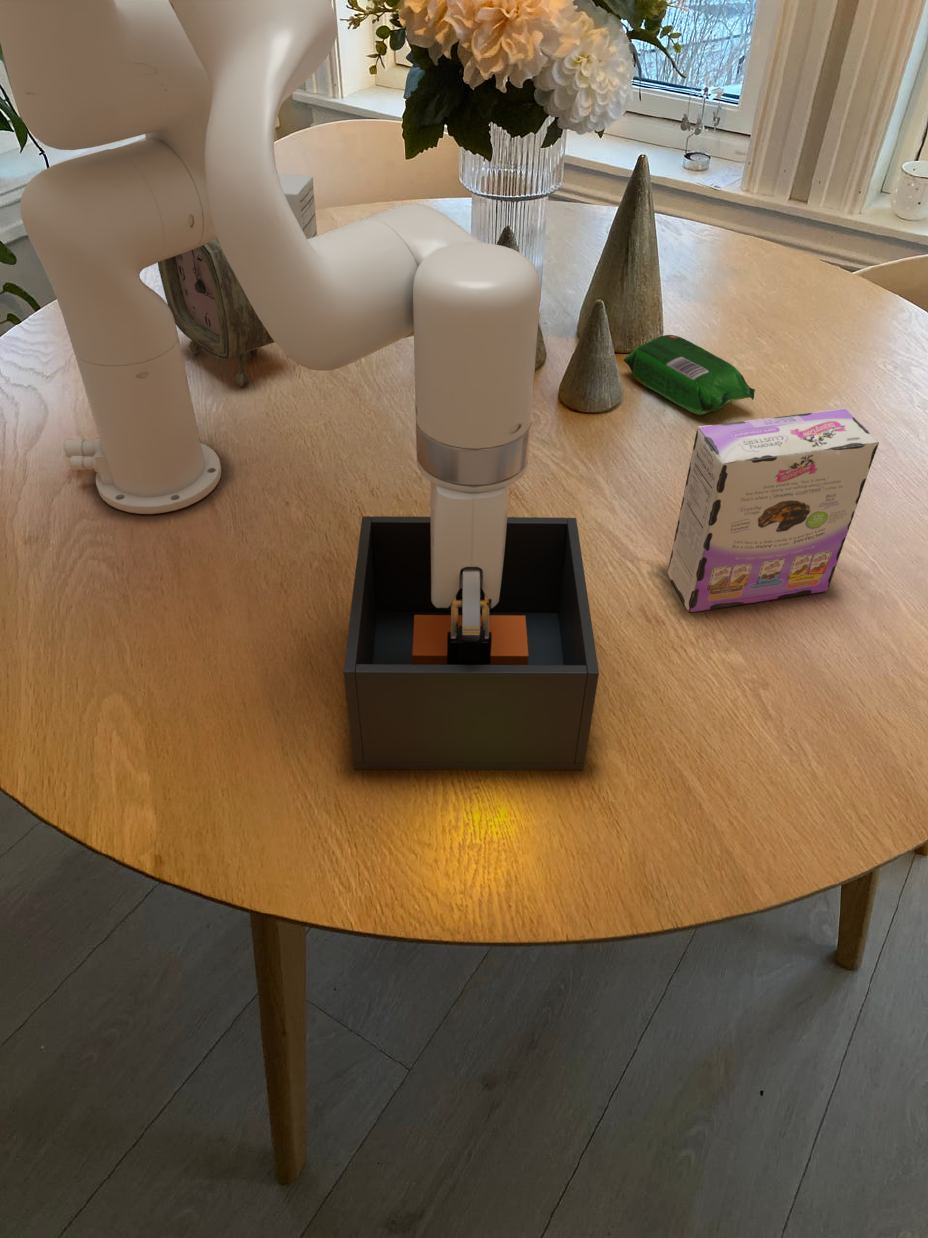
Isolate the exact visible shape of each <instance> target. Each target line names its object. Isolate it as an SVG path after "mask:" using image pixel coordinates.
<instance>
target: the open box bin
mask: <svg viewBox="0 0 928 1238" xmlns="http://www.w3.org/2000/svg"><path fill="white" fill-rule="evenodd" d="M581 548H582V547H581V541H580V535H579V527H578V519H577V518H576V517H550V516H549V517H543V516H542V517H538V516H536V517H534V516H533V517H531V516H530V517H529V516H528V517H527V516H526V517H525V516H524V517H523V516H507V527H506V540H505V551H504V561H503V571H502V580H501V588H500V596H499V602H498V603H497V605H496V606H494V607H493V608H491V607H490V606H489V615H513V616H526V628H527V642H528V655H529V657H528V665H413V662H412V651H413V630H414V615H451V605H450V606H449V607H448V608H436V607H435V606H434V605H433V603H432V602H431V520H430V516H395V515H394V516H389V515H388V516H386V515H382V516H379V515H378V516H377V515H372V516H371V515H367V516H366V515H362V517H361V522H360V530H359V539H358V548H357V554H356V564H355V570H354V571H355V572H354V581H353V589H352V598H351V606H350V614H349V623H348V630H347V639H346V646H345V647H346V648H345V656H344V663H343V664H344V665H343V672H342V673H343V681H344V690H345V699H346V708H347V709H346V710H347V717H348V726H349V727H348V729H349V735H350V744H351V745H350V746H351V754H352V763H353V769H354V770H464V771H465V770H467V771H469V770H472V771H473V770H475V771H476V770H477V771H478V770H480V771H482V770H483V771H484V770H486V771H489V770H491V771H495V770H497V771H499V770H500V771H501V770H502V771H503V770H505V771H508V770H509V771H510V770H511V771H512V770H513V771H518V770H519V771H522V770H523V771H551V770H552V771H584V770H585V766H586V758H587V752H588V745H589V740H590V733H591V727H592V720H593V714H594V709H595V708H594V707H595V701H596V696H597V688H598V683H599V675H600V670H599V664H598V663H599V662H598V656H597V650H596V642H595V636H594V630H593V623H592V616H591V615H592V614H591V610H590V609H591V608H590V603H589V594H588V589H587V582H586V576H585V575H586V574H585V568H584V561H583V556H582V549H581ZM456 598H462V593H457V595H456ZM480 598H484V593H483V594H480ZM458 615H462V608H458ZM480 615H482V608H480Z"/></svg>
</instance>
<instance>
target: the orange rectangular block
mask: <svg viewBox="0 0 928 1238" xmlns="http://www.w3.org/2000/svg"><path fill="white" fill-rule="evenodd" d="M481 624H482V615H480V626H481ZM459 626H462V615H458V628H459ZM447 632H451V615H414V630H413V651H412V662H413V665H447ZM489 632H492V641H491V660H490V665H528V657H529V655H528V642H527V628H526V616H513V615H489Z"/></svg>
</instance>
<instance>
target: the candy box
mask: <svg viewBox="0 0 928 1238" xmlns="http://www.w3.org/2000/svg"><path fill="white" fill-rule="evenodd" d="M879 444H880V441H879V440H878V439H877V438H875V437H874V436H873V435H872V434H871V432H870V431H869V430H867V428H866V427H865V426H863V424H861V423H860V422H859V421H858V420H857V419H856V418H855V417H854V416H853V415H852V414H851V412H849V410H848V409H846V408H845V407H842V408H837V409H836V408H835V409H828V410H820V411H813V412H806V413H805V412H804V413H799V414H791V415H783V416H782V415H781V416H773V417H766V418H758V419H750V420H749V419H748V420H743V421H735V422H733V421H732V422H726V423H717V424H708V425H698V426H697V427H696V433H695V437H694V441H693V447H692V452H691V455H690V456H691V457H690V462H689V466H688V471H687V474H686V475H687V476H686V480H685V486H684V490H683V495H682V499H681V504H680V505H681V506H680V510H679V515H678V520H677V524H676V528H675V533H674V540H673V543H672V548H671V553H670V557H669V563H668V568H667V573H666V574H667V575H668V579H669V580H670V582H671V584H672V585H673V587H674V588H675V591H676V592H677V594H678V596H679V598H680V600H681V602H682V604H683V606H684V607H685V609H686V611H687V612H691V613H695V612H703V611H709V610H715V609H720V608H728V607H735V606H740V605H745V604H754V603H761V602H766V601H770V600H771V601H772V600H779V599H784V598H791V597H797V596H802V595H803V596H805V595H810V594H816V593H823V592H827V591H828V590H829V588H830V585H831V582H832V579H833V576H834V573H835V570H836V567H837V565H838V563H839V559H840V556H841V554H842V550H843V547H844V543H845V541H846V538H847V536H848V533H849V531H850V527H851V524H852V523H853V522H852V521H853V519H854V516H855V513H856V510H857V508H858V504H859V501H860V499H861V496H862V493H863V490H864V487H865V484H866V481H867V478H868V475H869V472H870V469H871V466H872V464H873V461H874V458H875V456H876V453H877V450H878V447H879Z"/></svg>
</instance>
